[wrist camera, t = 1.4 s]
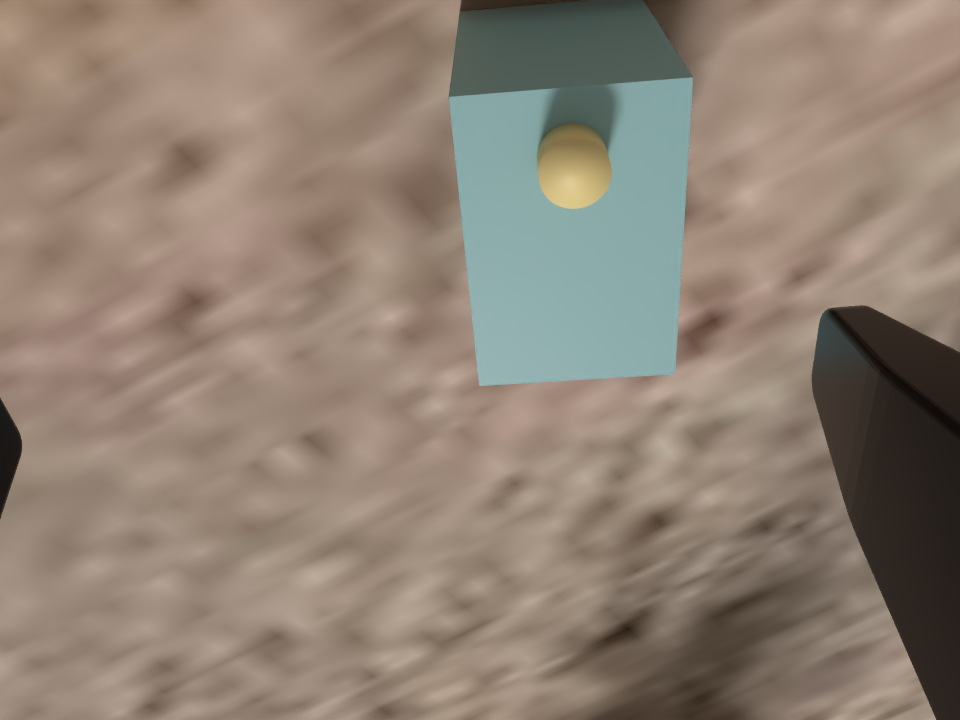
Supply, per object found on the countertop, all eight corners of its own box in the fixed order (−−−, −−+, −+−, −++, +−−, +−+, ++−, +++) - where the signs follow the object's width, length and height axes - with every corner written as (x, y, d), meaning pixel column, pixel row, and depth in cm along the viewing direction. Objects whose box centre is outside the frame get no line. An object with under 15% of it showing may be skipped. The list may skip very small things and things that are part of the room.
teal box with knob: (634, 238, 22) (682, 397, 16) (481, 249, 22) (478, 410, 17) (640, -5, 19) (703, 93, 13) (459, 10, 19) (446, 112, 13)
